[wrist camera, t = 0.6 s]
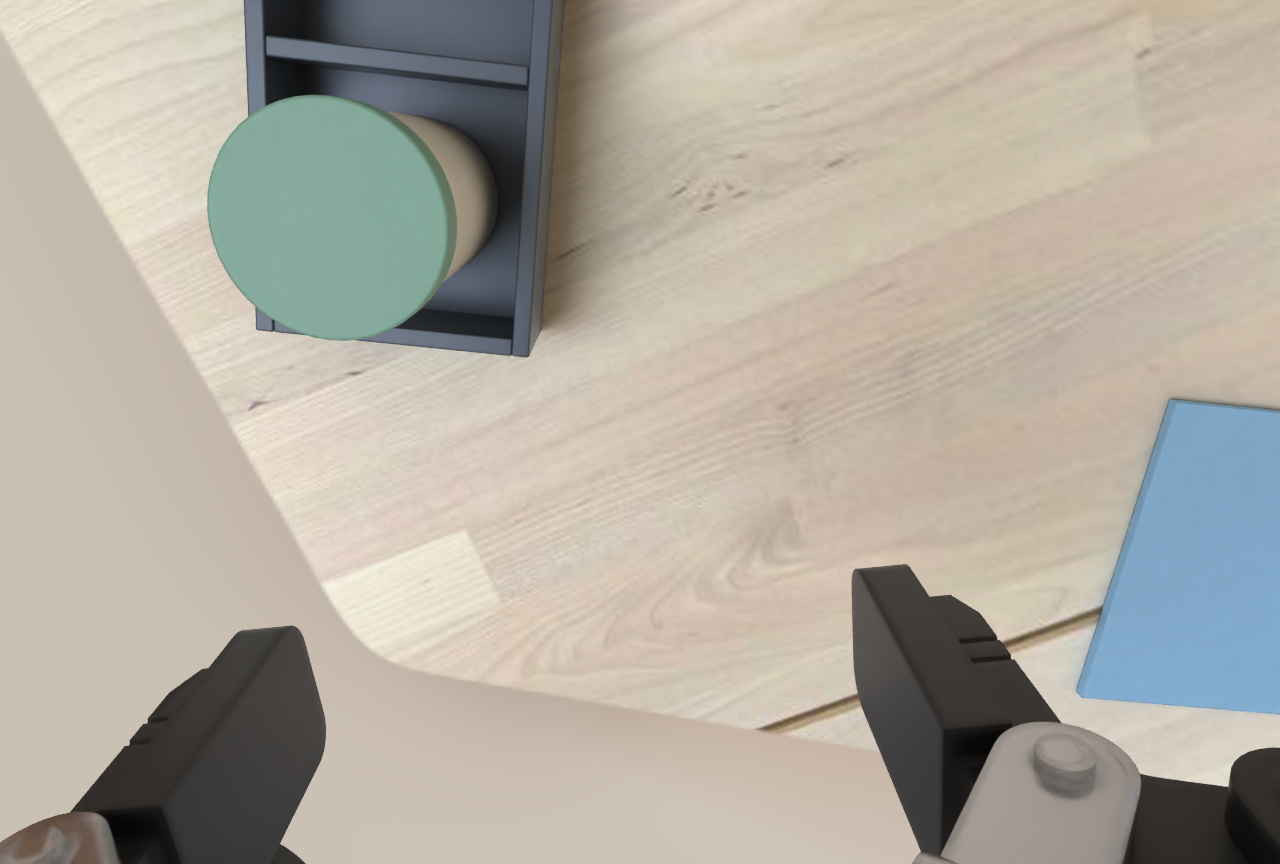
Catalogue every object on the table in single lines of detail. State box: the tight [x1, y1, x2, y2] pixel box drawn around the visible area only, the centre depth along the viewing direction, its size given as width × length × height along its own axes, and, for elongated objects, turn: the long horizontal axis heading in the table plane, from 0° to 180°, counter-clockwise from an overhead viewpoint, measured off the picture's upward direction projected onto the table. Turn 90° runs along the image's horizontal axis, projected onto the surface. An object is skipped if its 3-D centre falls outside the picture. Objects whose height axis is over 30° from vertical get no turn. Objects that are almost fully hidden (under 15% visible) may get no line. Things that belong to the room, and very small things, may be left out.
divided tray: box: [244, 0, 565, 357], centre depth 28 cm, size 9×18×4 cm, turn 174°
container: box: [207, 95, 498, 341], centre depth 26 cm, size 6×6×10 cm
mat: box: [1076, 399, 1280, 714], centre depth 37 cm, size 14×14×1 cm
